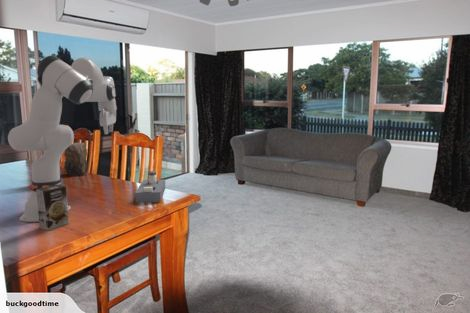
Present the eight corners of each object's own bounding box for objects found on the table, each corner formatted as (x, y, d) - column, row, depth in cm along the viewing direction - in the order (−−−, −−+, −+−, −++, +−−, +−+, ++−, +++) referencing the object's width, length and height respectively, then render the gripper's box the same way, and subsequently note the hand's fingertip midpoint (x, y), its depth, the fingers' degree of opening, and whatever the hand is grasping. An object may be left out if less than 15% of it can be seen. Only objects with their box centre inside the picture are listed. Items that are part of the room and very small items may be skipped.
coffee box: (48, 231, 139) (44, 191, 136) (39, 227, 142) (35, 188, 139) (69, 223, 146) (66, 186, 143) (60, 220, 150) (57, 183, 147)
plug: (156, 192, 191) (155, 172, 188) (148, 192, 190) (148, 172, 188) (157, 190, 194) (156, 170, 192) (149, 190, 194) (149, 171, 192)
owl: (64, 175, 226) (61, 144, 222) (73, 171, 238) (70, 141, 235) (83, 175, 226) (81, 144, 222) (91, 171, 238) (89, 141, 234)
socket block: (160, 202, 175) (160, 188, 173) (135, 202, 174) (135, 188, 172) (165, 188, 199) (165, 175, 198) (143, 188, 198) (143, 176, 197)
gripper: (108, 108, 180) (110, 135, 182) (117, 106, 200) (119, 130, 202) (95, 108, 179) (97, 135, 182) (106, 106, 199) (107, 130, 202)
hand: (108, 133), depth 192 cm, fingers open, 8 cm apart
